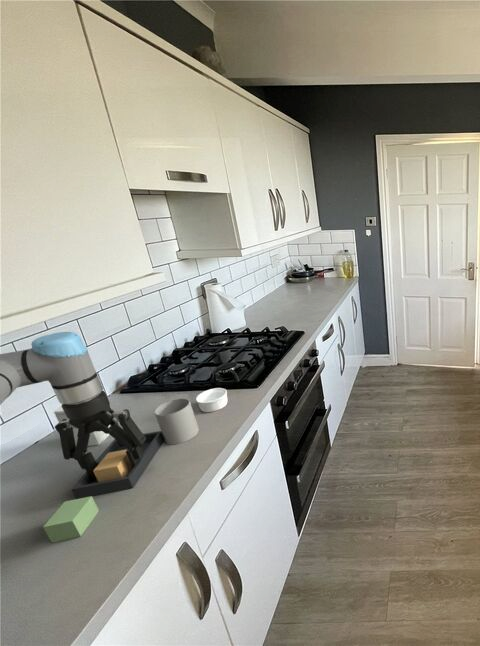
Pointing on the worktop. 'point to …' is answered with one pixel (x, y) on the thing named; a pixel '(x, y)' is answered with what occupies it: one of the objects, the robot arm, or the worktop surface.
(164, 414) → the cup
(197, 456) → the worktop surface
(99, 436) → the white packaging box
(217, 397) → the ramekin
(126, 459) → the light orange rectangular block
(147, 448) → the tray
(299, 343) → the worktop surface
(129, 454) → the robot arm
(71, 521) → the pad
